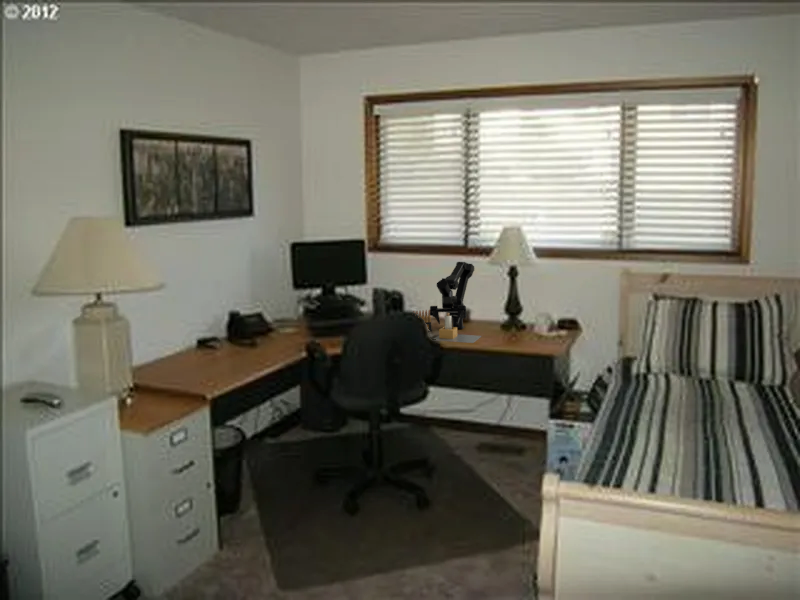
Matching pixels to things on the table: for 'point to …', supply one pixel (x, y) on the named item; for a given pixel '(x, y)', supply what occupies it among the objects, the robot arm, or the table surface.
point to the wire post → (448, 322)
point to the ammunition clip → (426, 318)
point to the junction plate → (455, 336)
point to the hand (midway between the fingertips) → (448, 324)
